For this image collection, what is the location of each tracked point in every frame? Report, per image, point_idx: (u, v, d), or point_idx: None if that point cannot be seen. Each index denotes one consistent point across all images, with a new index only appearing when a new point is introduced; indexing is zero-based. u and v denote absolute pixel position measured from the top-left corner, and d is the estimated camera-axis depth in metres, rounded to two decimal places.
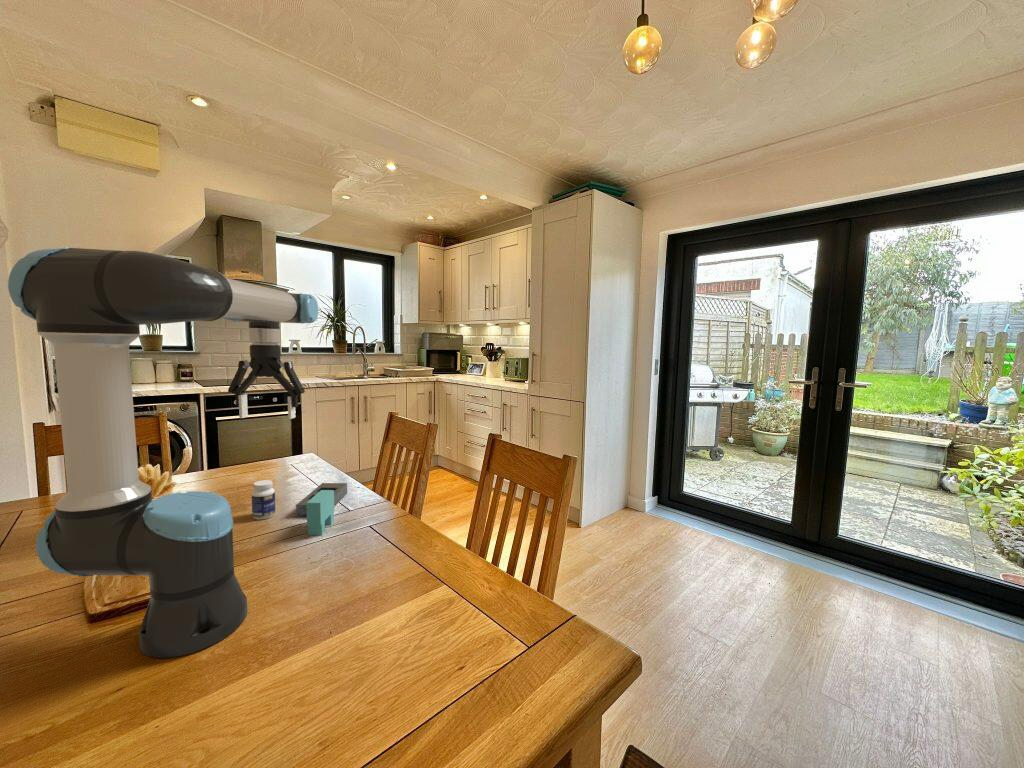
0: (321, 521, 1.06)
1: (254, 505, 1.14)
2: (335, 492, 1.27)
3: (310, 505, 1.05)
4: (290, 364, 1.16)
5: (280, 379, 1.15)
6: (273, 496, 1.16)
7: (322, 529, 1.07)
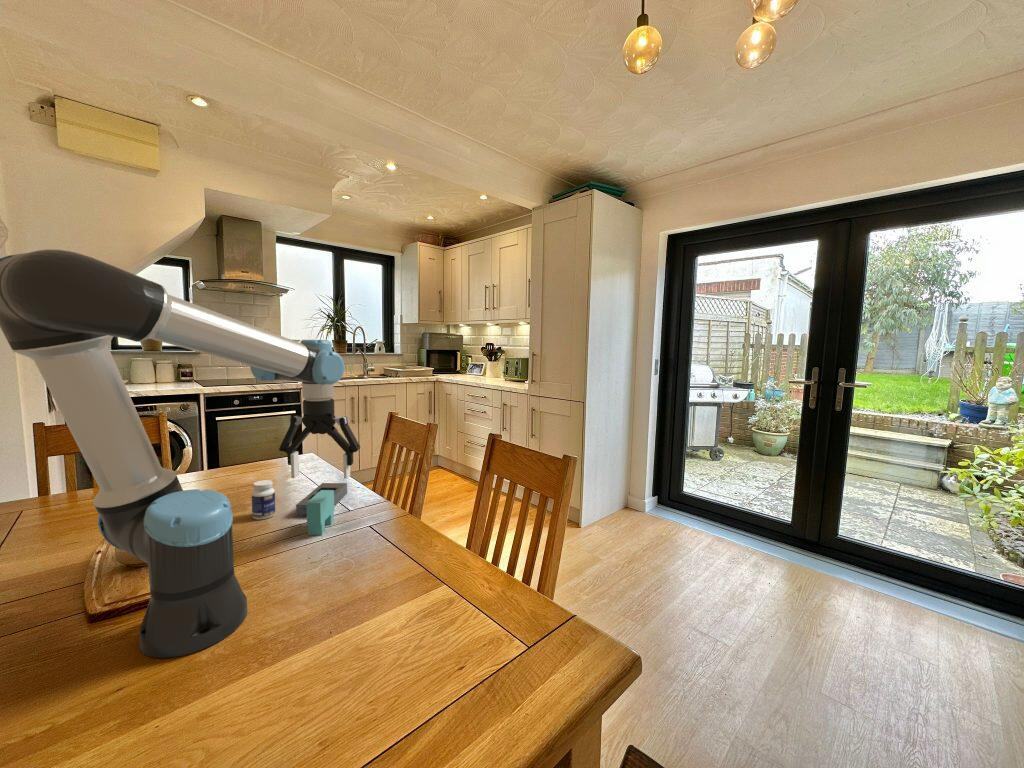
0: (321, 521, 1.06)
1: (254, 505, 1.14)
2: (335, 492, 1.27)
3: (310, 505, 1.05)
4: (345, 419, 1.08)
5: (335, 436, 1.07)
6: (273, 496, 1.16)
7: (322, 529, 1.07)
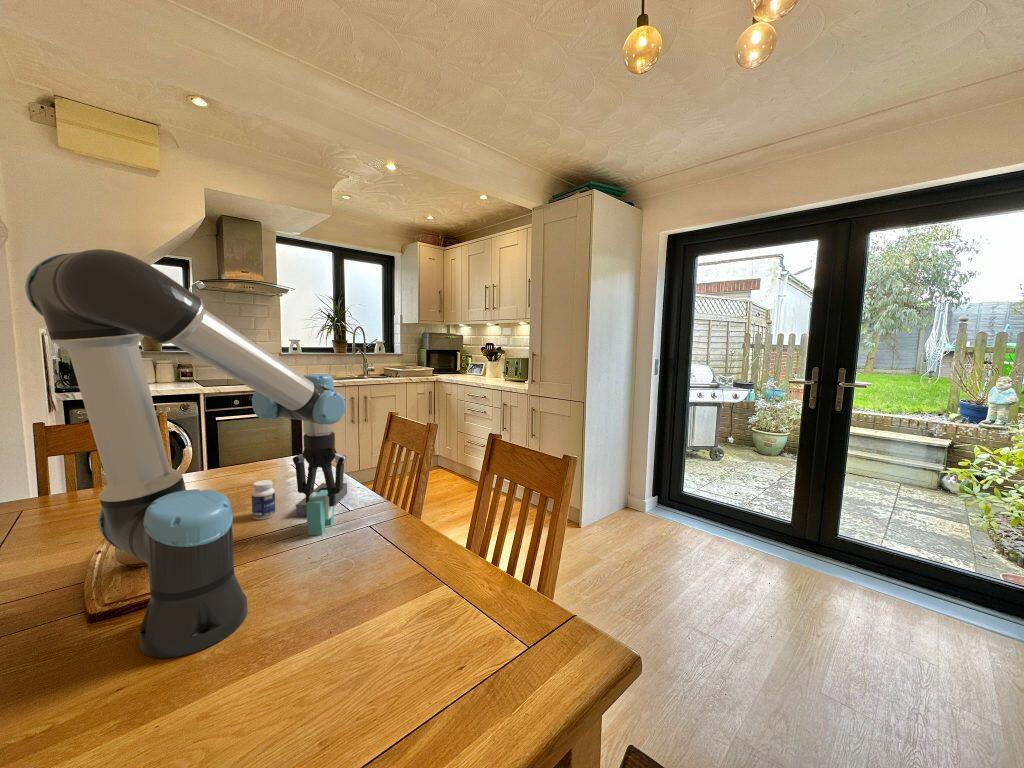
0: (321, 521, 1.06)
1: (254, 505, 1.14)
2: None
3: (310, 505, 1.05)
4: (344, 460, 1.09)
5: (327, 474, 1.08)
6: (273, 496, 1.16)
7: (322, 529, 1.07)
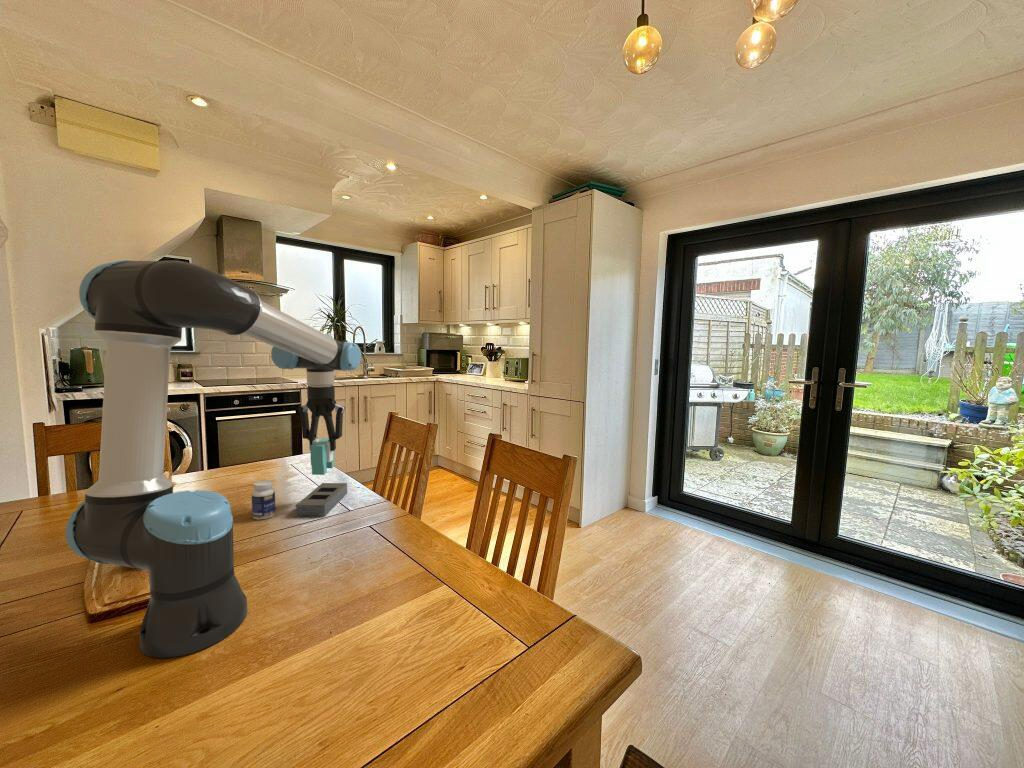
0: (323, 462, 1.21)
1: (254, 505, 1.14)
2: (335, 492, 1.27)
3: (313, 448, 1.20)
4: (343, 410, 1.23)
5: (328, 422, 1.22)
6: (273, 496, 1.16)
7: (324, 469, 1.22)
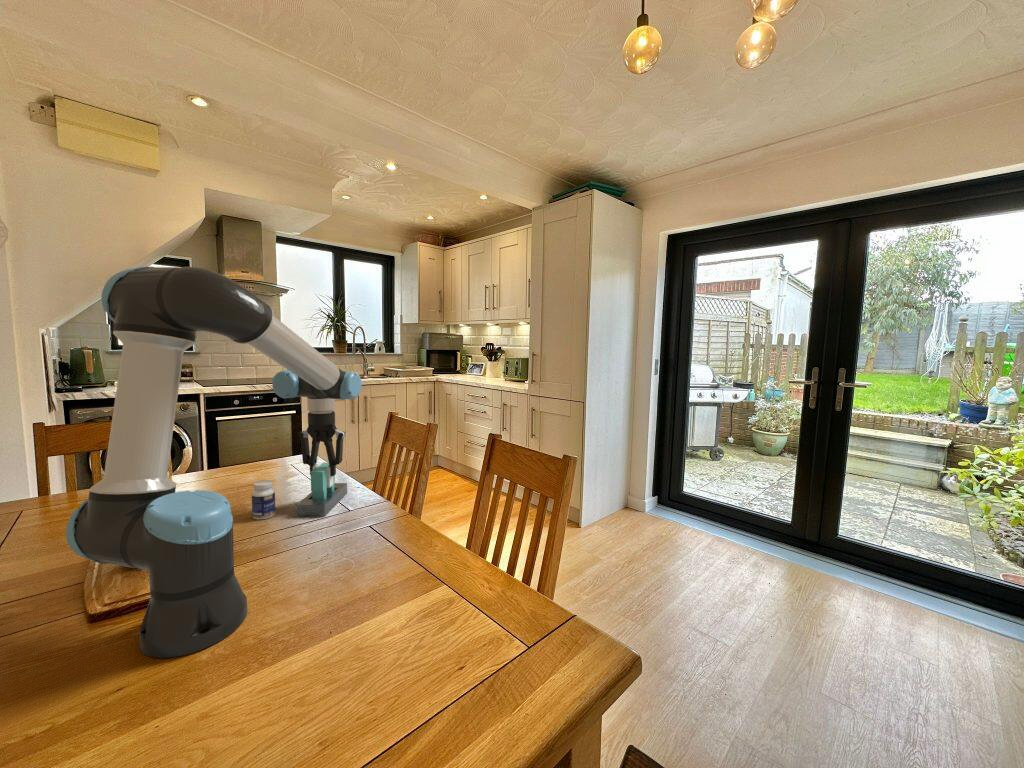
0: (323, 488, 1.22)
1: (254, 505, 1.14)
2: (335, 492, 1.27)
3: (313, 474, 1.21)
4: (343, 435, 1.24)
5: (328, 447, 1.23)
6: (273, 496, 1.16)
7: (324, 495, 1.22)
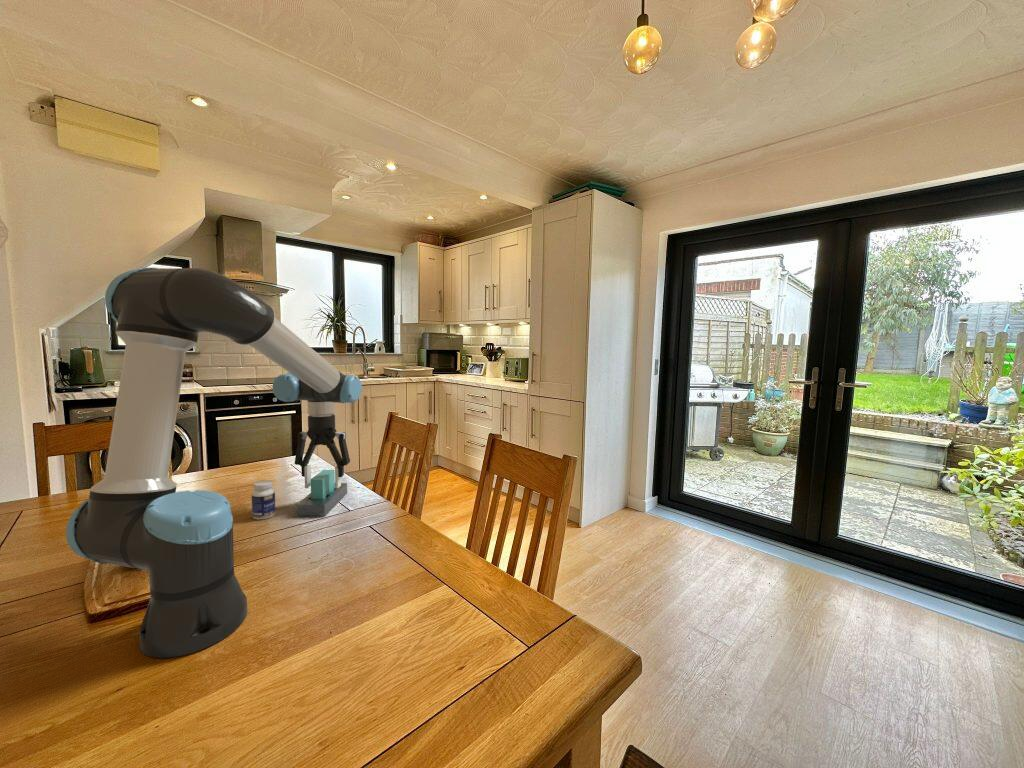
0: (323, 495, 1.22)
1: (254, 505, 1.14)
2: (335, 492, 1.27)
3: (313, 481, 1.21)
4: (344, 436, 1.24)
5: (332, 449, 1.23)
6: (273, 496, 1.16)
7: None
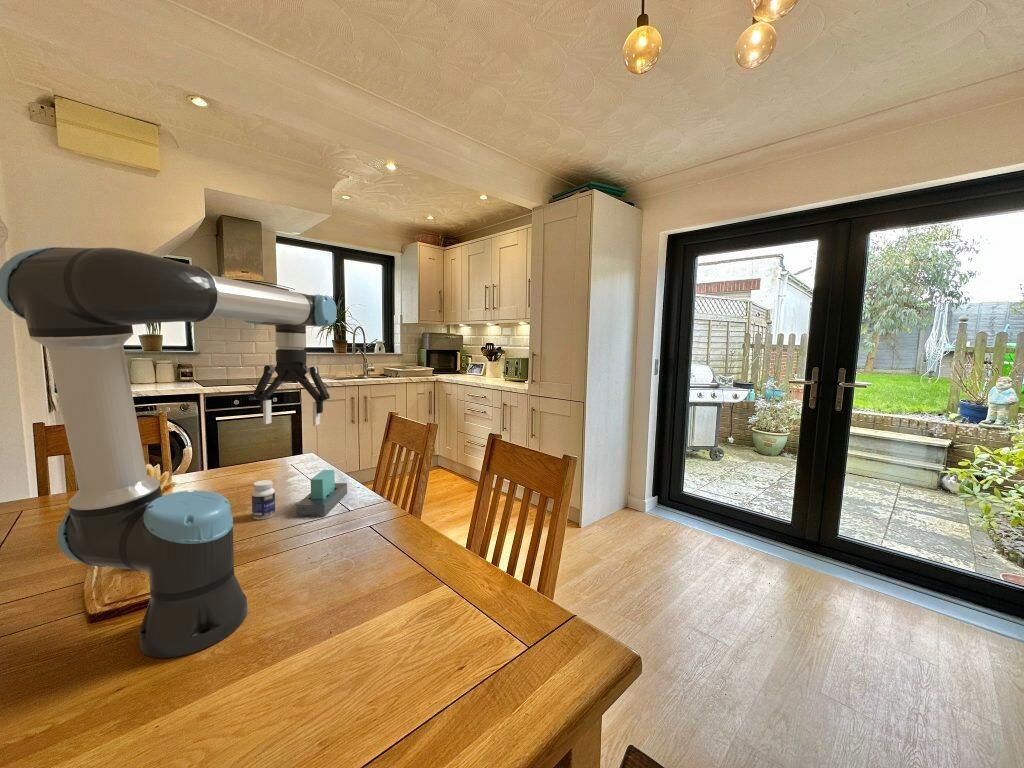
0: (323, 495, 1.22)
1: (254, 505, 1.14)
2: (335, 492, 1.27)
3: (313, 481, 1.21)
4: (316, 369, 1.14)
5: (306, 384, 1.13)
6: (273, 496, 1.16)
7: None
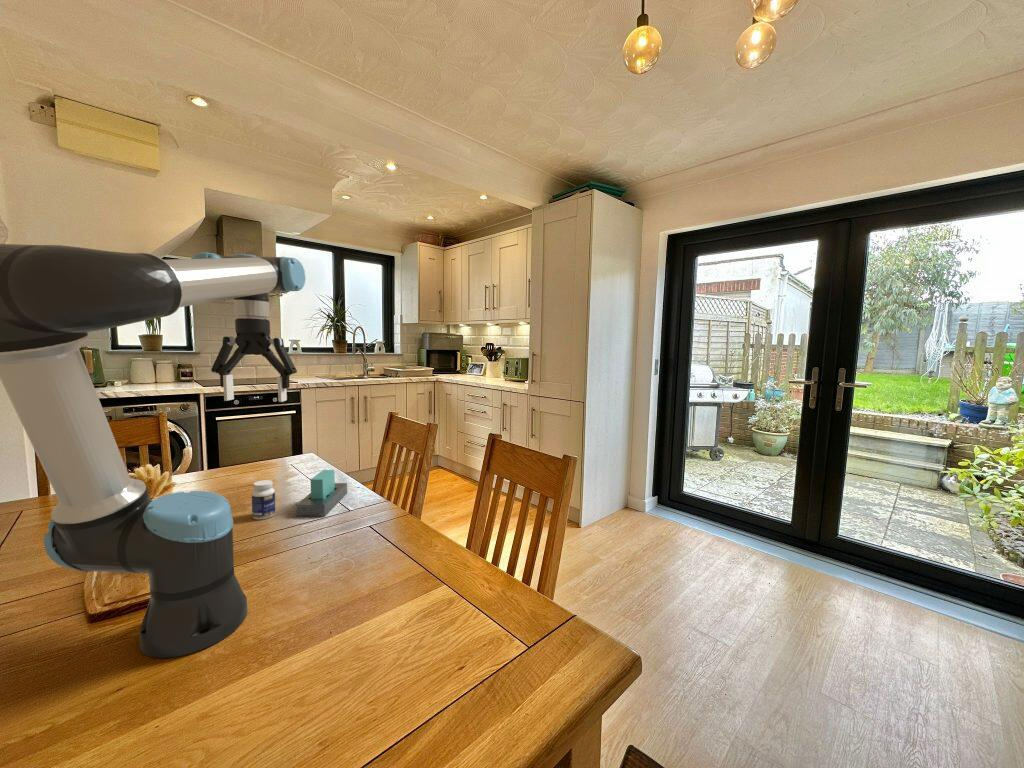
0: (323, 495, 1.22)
1: (254, 505, 1.14)
2: (335, 492, 1.27)
3: (313, 481, 1.21)
4: (280, 341, 1.05)
5: (269, 357, 1.04)
6: (273, 496, 1.16)
7: None
